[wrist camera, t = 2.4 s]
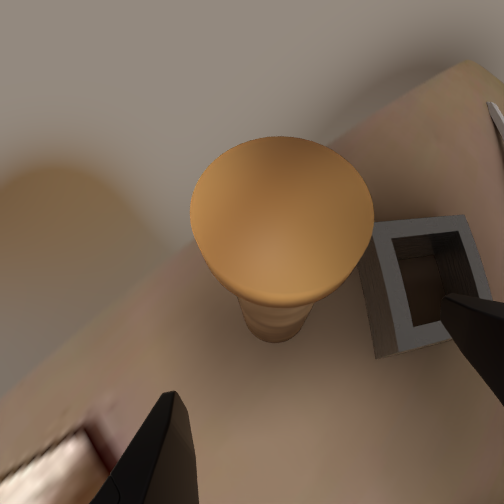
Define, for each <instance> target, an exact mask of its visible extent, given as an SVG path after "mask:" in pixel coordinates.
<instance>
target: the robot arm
mask: <svg viewBox="0 0 504 504" xmlns="http://www.w3.org/2000/svg"><path fill="white" fill-rule="evenodd" d="M440 320H441V323H442V324H443V326H444V327H445V329H446V330H447V332H448V333H449V334H450V336H451V337H452V339H453V340H454V342H455V343H456V345H457V346H458V348H459V349H460V351H461V352H462V353H463V355H464V356H465V357H466V359H467V360H468V361H469V362H470V363H471V365H472V366H473V367H474V368H475V370H476V371H477V372H478V373H479V375H480V376H481V377H482V378H483V380H484V381H485V382H486V384H487V385H488V386H489V387H490V389H491V390H492V391H493V393H494V394H495V395H496V397H497V398H498V399H499V401H500V402H501V403H502V405H503V406H504V303H502V302H497V301H491V300H486V299H481V298H476V297H471V296H466V295H460V294H455V293H450V294H448V295H446V296H444V297H443V298H442V301H441V311H440ZM110 475H111V476H108V478H107V479H106V481H105V482H104V484H103V485H102V487H101V488H100V490H99V491H98V493H97V494H96V495H95V497H94V498H93V499H92V501H91V502H90V503H89V504H199V497H198V484H197V469H196V456H195V450H194V444H193V439H192V433H191V427H190V422H189V415H188V411H187V409H186V407H185V405H184V403H183V402H182V400H181V398H180V396H179V395H178V393H177V392H176V391H170V392H165V393H163V394H162V395H161V396H160V398H159V399H158V401H157V402H156V404H155V405H154V407H153V409H152V410H151V412H150V413H149V415H148V416H147V418H146V419H145V421H144V422H143V424H142V425H141V427H140V429H139V430H138V432H137V433H136V435H135V436H134V438H133V439H132V441H131V442H130V444H129V446H128V447H127V449H126V450H125V452H124V453H123V455H122V456H121V458H120V459H119V461H118V462H117V464H116V466H115V467H114V469H113V470H112V472H111V473H110Z"/></svg>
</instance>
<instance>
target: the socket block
mask: <svg viewBox="0 0 504 504" xmlns="http://www.w3.org/2000/svg"><path fill="white" fill-rule="evenodd" d="M429 255H434V256H435V259H436V262H437V265H438V269H439V272H440V276H441V279H442V283H443V287H444V290H445V294H446V295H448V294H450V293H455V294H460V295H466V296H471V297H476V298H481V299H486V300H491V301H493V300H492V296H491V292H490V288H489V285H488V281H487V278H486V275H485V271H484V268H483V265H482V262H481V259H480V256H479V253H478V250H477V247H476V244H475V241H474V238H473V236H472V233H471V230H470V228H469V225H468V223H467V220H466V218H465V215H453V216H441V217H429V218H417V219H406V220H395V221H384V222H374V226H373V231H372V236H371V239H370V241H369V244H368V246H367V248H366V250H365V252H364V253H363V255H362V257H361V258H360V260H359V261H358V263H357V266H358V270H359V275H360V279H361V284H362V288H363V293H364V298H365V303H366V307H367V313H368V318H369V323H370V329H371V334H372V340H373V346H374V352H375V358H376V359H380V358H384V357H389V356H393V355H397V354H401V353H405V352H409V351H413V350H417V349H421V348H425V347H428V346H432V345H435V344H439V343H442V342H446V341H449V340H452V337H451V336H450V334H449V333H448V332H447V330H446V329H445V327H444V326H443V324H442V323H441V320H440V321H437V322H433V323H429V324H425V325H420V326H416V327H413V323H412V319H411V314H410V309H409V305H408V300H407V296H406V292H405V288H404V284H403V280H402V276H401V272H400V268H399V265H398V261H397V260H401V259H408V258H415V257H422V256H429Z"/></svg>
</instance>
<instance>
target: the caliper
mask: <svg viewBox="0 0 504 504" xmlns="http://www.w3.org/2000/svg"><path fill="white" fill-rule="evenodd" d="M487 105H488V109H489V113H490V115H491V117H492V119H493V121H494V122H495V124H496V126H497V128H498V130H499V132H500V134H501V136H502V138H503V141H504V117H503V115H502V113H501V112H500V110H499V108H498V107H497V105H496V104H494V103H492V102H487Z"/></svg>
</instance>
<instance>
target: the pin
mask: <svg viewBox="0 0 504 504" xmlns="http://www.w3.org/2000/svg"><path fill="white" fill-rule="evenodd" d="M190 220H191V226H192V231H193V234H194V237H195V239H196V242H197V244H198V246H199V248H200V251H201V253H202V255H203V257H204V259H205V261H206V263H207V265H208V267H209V269H210V270H211V272H212V274H213V275H214V276H215V277H216V279H217V280H218V281H219V282H220V283H221V284H222V285H223V286H224V287H225V288H226V289H227V290H229V291H230V292H232V293H233V294H235V295H236V296H237V297H238V300H239V303H240V306H241V309H242V312H243V315H244V318H245V321H246V324H247V326H248V328H249V330H250V331H251V332H252V333H253V334H254V335H255V336H256V337H257V338H259V339H261V340H263V341H266V342H270V343H279V342H284V341H287V340H289V339H291V338H292V337H294V336H295V335H296V334H297V333H298V332H299V330H300V329H301V327H302V325H303V324H304V322H305V320H306V318H307V316H308V314H309V312H310V311H311V309H312V307H313V305H314V303H315V302H317V301H319V300H321V299H323V298H325V297H326V296H328V295H329V294H331V293H332V292H334V291H335V290H336V289H337V288H338V287H340V286H341V285H342V284H343V283H344V281H345V280H346V279H347V278H348V276H349V275H350V274H351V272H352V271H353V269H354V268H355V266H356V265H357V263H358V261H359V260H360V258H361V257H362V255H363V253H364V252H365V250H366V248H367V246H368V244H369V241H370V239H371V236H372V231H373V226H374V209H373V203H372V199H371V195H370V193H369V190H368V188H367V186H366V184H365V182H364V180H363V179H362V177H361V176H360V174H359V173H358V172H357V171H356V169H355V168H354V167H353V166H352V165H351V164H350V163H349V162H348V161H347V160H345V159H344V158H343V157H342V156H340V155H339V154H337V153H336V152H334V151H333V150H331V149H329V148H327V147H325V146H323V145H320V144H318V143H315V142H313V141H309V140H305V139H300V138H294V137H281V136H280V137H279V136H278V137H265V138H259V139H255V140H251V141H248V142H245V143H242V144H239V145H237V146H235V147H233V148H231V149H229V150H228V151H226V152H225V153H223V154H222V155H220V156H219V157H218V158H217V159H215V160H214V161H213V162H212V163H211V164H210V165H209V166H208V167H207V169H206V170H205V171H204V173H203V174H202V175H201V177H200V179H199V180H198V182H197V184H196V187H195V189H194V192H193V195H192V199H191V205H190Z"/></svg>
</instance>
